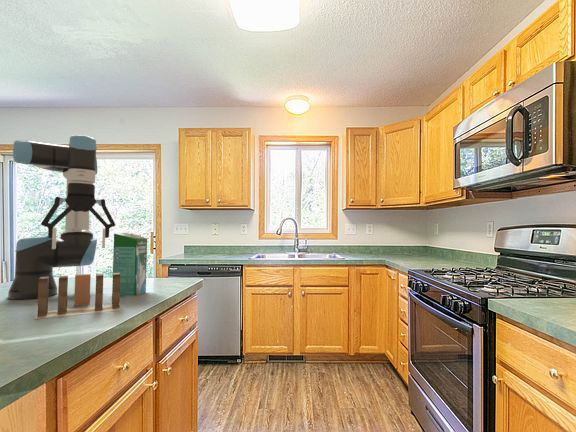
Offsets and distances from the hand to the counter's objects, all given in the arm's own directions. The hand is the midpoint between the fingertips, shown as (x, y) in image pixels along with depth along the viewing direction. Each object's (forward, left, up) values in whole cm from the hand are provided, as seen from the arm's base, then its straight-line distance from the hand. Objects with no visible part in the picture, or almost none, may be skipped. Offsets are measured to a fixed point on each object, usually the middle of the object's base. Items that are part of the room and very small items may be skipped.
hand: (79, 248), depth 105 cm
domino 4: (+5, +11, -19) cm, 23 cm away
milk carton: (-17, +17, -21) cm, 32 cm away
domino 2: (+5, -4, -19) cm, 20 cm away
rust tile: (-5, +1, -20) cm, 21 cm away
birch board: (+5, +1, -20) cm, 21 cm away
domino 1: (+5, -8, -19) cm, 22 cm away
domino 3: (+5, +6, -19) cm, 21 cm away
